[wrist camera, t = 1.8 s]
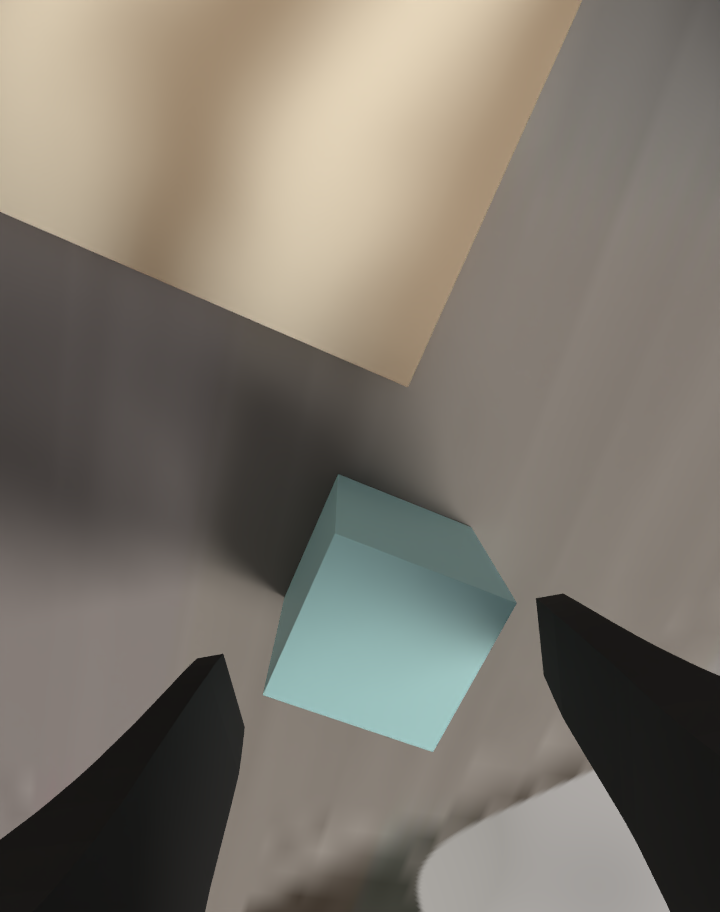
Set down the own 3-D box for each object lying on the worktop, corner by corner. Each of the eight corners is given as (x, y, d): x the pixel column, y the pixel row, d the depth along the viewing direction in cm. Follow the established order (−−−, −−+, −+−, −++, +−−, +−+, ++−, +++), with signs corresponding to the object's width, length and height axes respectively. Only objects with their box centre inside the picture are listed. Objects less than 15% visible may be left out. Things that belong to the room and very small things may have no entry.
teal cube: (470, 525, 16) (516, 603, 12) (411, 641, 17) (433, 751, 13) (338, 473, 15) (335, 533, 11) (284, 595, 16) (262, 695, 12)
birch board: (639, -137, 12) (654, -161, 11) (405, 384, 15) (407, 387, 14) (80, -480, 10) (64, -529, 9) (-56, 186, 13) (-75, 179, 12)
